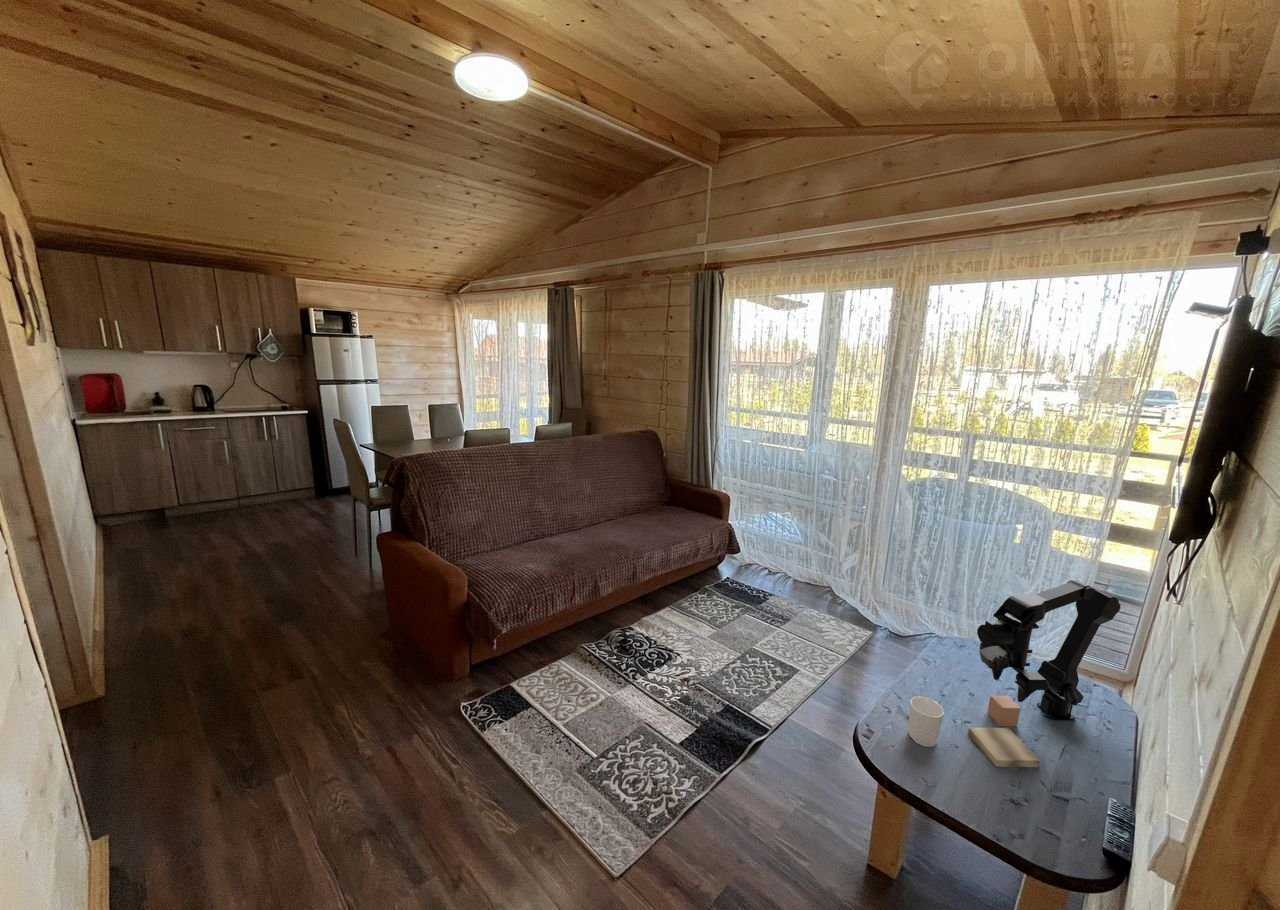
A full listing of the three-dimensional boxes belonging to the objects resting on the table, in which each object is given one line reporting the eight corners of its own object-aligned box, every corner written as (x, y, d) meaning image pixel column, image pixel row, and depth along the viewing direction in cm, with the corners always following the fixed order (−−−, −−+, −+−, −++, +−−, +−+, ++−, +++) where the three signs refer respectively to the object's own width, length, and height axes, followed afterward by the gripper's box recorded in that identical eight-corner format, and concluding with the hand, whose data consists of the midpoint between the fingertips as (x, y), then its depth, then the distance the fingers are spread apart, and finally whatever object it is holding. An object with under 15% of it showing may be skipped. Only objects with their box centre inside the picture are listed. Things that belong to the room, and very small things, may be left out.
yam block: (1004, 713, 142) (1007, 695, 141) (1017, 726, 138) (1020, 708, 136) (987, 713, 142) (990, 695, 141) (999, 726, 138) (1002, 708, 136)
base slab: (1007, 734, 135) (1008, 727, 134) (1038, 767, 124) (1040, 760, 123) (967, 733, 135) (968, 727, 134) (996, 766, 124) (997, 760, 123)
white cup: (937, 732, 135) (941, 701, 133) (940, 753, 128) (945, 720, 126) (905, 723, 138) (909, 693, 136) (907, 743, 131) (911, 711, 129)
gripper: (965, 623, 144) (958, 669, 147) (1012, 662, 126) (1003, 714, 129) (1002, 623, 144) (995, 669, 147) (1055, 662, 126) (1044, 714, 129)
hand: (1007, 690), depth 138 cm, fingers open, 9 cm apart
